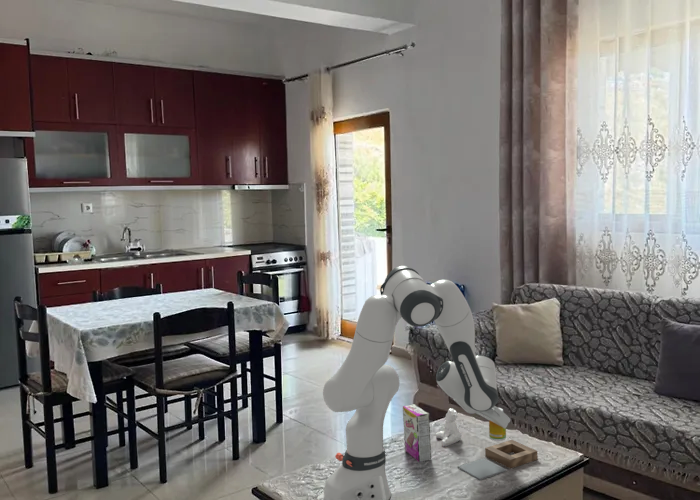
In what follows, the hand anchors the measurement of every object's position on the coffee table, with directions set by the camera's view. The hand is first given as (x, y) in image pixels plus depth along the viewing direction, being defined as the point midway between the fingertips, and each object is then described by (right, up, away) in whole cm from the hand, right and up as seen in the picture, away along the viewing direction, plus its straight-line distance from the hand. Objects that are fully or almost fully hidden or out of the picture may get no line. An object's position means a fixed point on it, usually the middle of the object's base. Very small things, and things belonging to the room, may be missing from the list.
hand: (498, 422), depth 218 cm
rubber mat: (-6, -14, -4) cm, 16 cm away
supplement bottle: (0, -5, 0) cm, 5 cm away
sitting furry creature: (-13, -12, +21) cm, 27 cm away
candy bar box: (-26, -14, +9) cm, 31 cm away
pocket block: (+5, -13, +4) cm, 14 cm away
